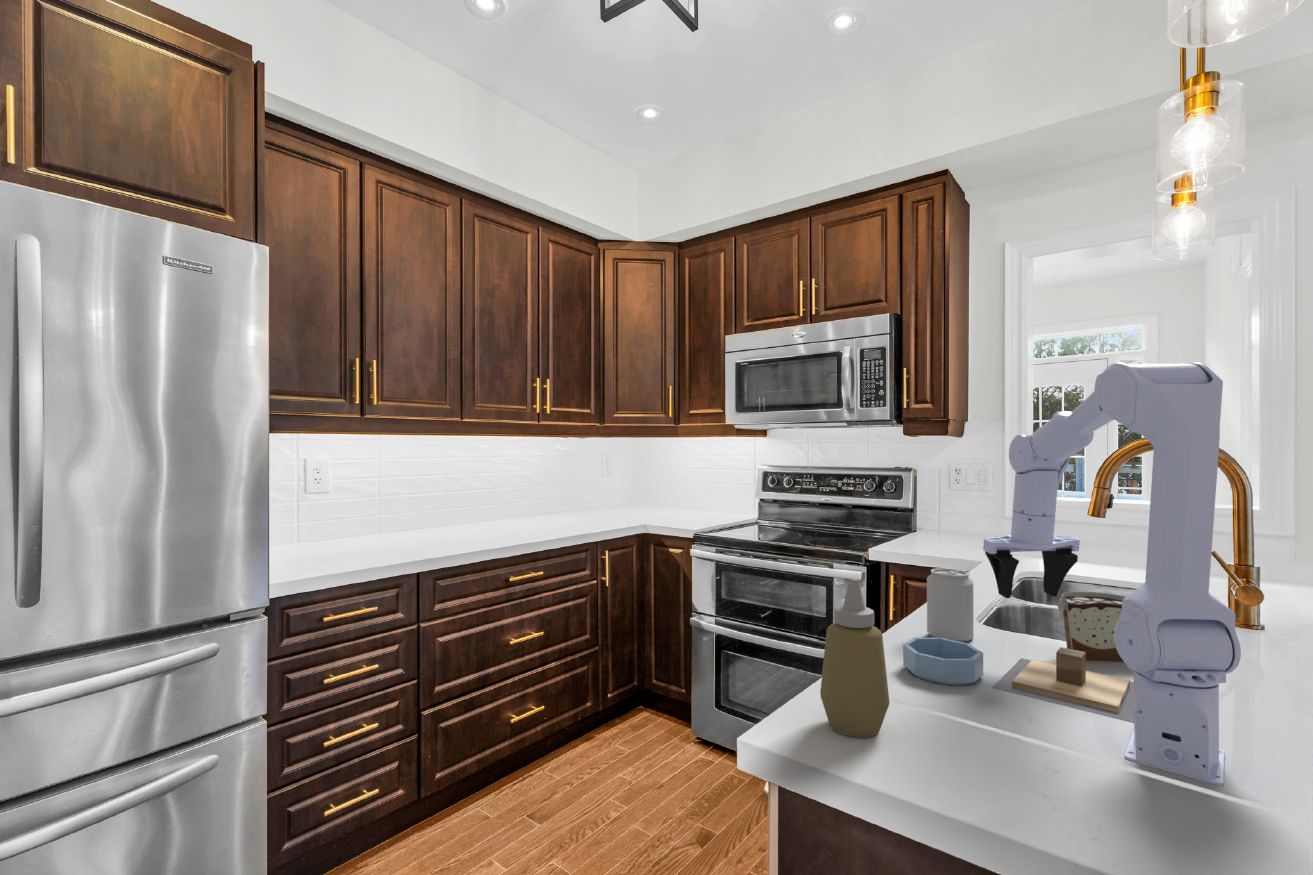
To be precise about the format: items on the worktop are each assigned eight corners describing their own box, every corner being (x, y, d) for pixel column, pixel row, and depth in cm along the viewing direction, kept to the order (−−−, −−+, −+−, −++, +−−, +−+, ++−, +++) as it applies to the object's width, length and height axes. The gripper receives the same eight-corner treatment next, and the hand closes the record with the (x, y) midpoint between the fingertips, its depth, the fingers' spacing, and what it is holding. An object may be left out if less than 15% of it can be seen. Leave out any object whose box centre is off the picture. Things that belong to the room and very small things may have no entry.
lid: (1118, 712, 78) (1117, 674, 78) (1011, 686, 87) (1011, 652, 87) (1129, 685, 87) (1129, 651, 87) (1032, 664, 95) (1032, 633, 95)
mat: (1136, 726, 76) (1136, 722, 76) (992, 690, 86) (992, 687, 86) (1149, 688, 87) (1149, 685, 87) (1021, 660, 98) (1021, 658, 98)
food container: (1120, 651, 102) (1120, 591, 102) (1146, 665, 96) (1146, 601, 96) (1042, 649, 104) (1042, 589, 104) (1062, 662, 98) (1062, 599, 98)
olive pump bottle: (859, 709, 80) (858, 570, 80) (904, 736, 73) (904, 584, 73) (806, 719, 77) (806, 575, 78) (848, 748, 70) (848, 589, 70)
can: (917, 634, 112) (917, 567, 112) (951, 630, 114) (951, 565, 114) (948, 647, 105) (948, 576, 105) (983, 642, 107) (983, 573, 107)
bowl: (967, 694, 85) (967, 665, 85) (895, 675, 92) (895, 648, 92) (989, 674, 92) (989, 647, 92) (920, 658, 99) (920, 633, 99)
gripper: (1059, 504, 101) (1053, 584, 103) (974, 506, 100) (969, 586, 102) (1092, 515, 94) (1085, 600, 96) (1001, 518, 93) (995, 604, 95)
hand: (1027, 594), depth 98 cm, fingers open, 7 cm apart
